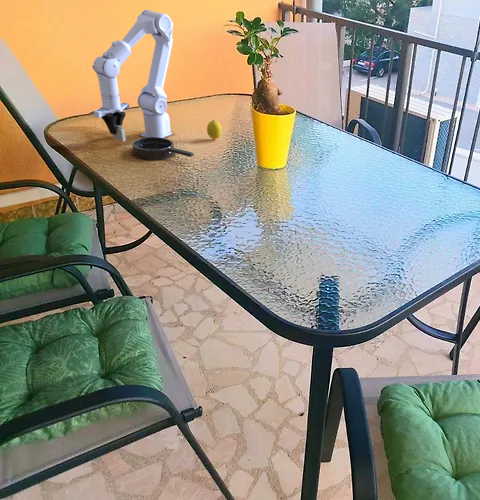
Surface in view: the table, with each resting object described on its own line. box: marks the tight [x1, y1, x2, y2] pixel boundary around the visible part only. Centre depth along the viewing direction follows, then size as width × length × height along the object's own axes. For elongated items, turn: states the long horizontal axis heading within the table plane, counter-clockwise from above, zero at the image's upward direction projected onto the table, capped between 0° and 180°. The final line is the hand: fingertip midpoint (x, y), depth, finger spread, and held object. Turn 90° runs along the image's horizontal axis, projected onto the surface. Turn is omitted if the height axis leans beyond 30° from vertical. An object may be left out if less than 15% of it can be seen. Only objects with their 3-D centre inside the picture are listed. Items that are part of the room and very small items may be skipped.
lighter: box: [112, 125, 127, 143], centre depth 166 cm, size 7×2×8 cm, turn 72°
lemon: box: [206, 119, 223, 141], centre depth 184 cm, size 6×6×8 cm
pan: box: [131, 137, 175, 161], centre depth 166 cm, size 14×14×4 cm
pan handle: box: [169, 147, 195, 158], centre depth 163 cm, size 2×9×1 cm, turn 71°
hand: (115, 133), depth 167 cm, fingers closed on lighter, 2 cm apart
